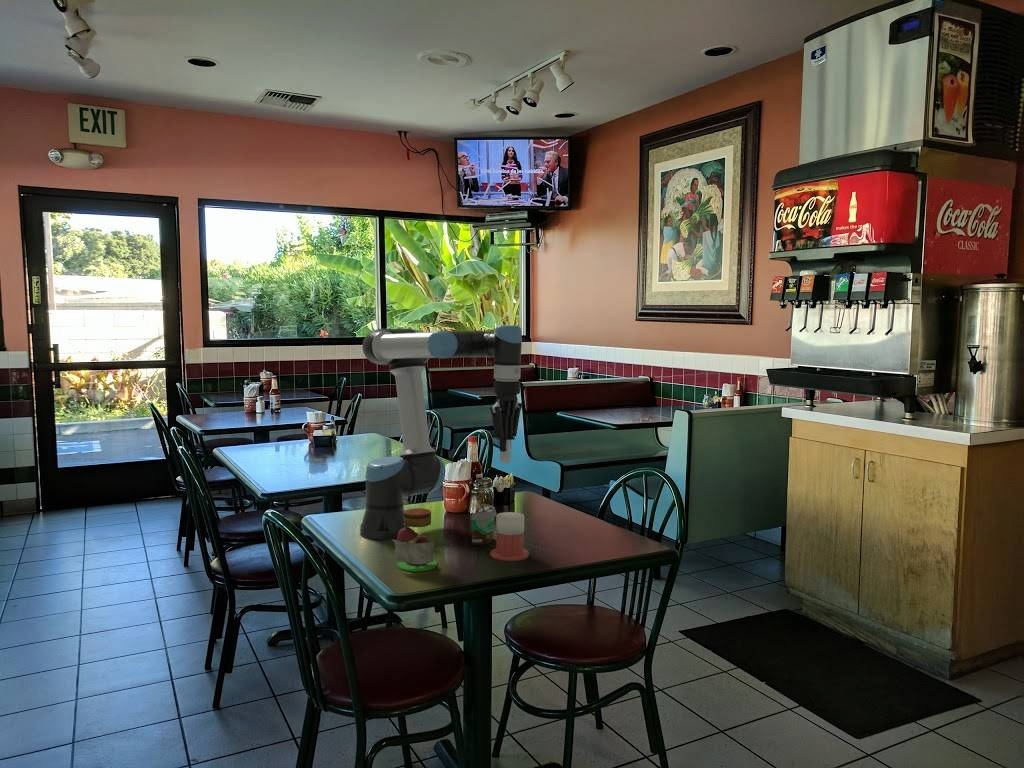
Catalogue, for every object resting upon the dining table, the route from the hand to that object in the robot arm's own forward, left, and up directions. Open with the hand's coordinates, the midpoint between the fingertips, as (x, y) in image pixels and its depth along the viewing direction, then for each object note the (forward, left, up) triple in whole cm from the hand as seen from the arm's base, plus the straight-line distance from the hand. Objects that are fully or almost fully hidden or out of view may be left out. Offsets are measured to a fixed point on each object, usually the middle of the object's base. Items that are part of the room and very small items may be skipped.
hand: (505, 462), depth 213 cm
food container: (-12, +7, -27) cm, 30 cm away
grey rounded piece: (+2, 0, -22) cm, 22 cm away
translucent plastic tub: (-13, -24, -27) cm, 38 cm away
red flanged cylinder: (+2, 0, -27) cm, 27 cm away
